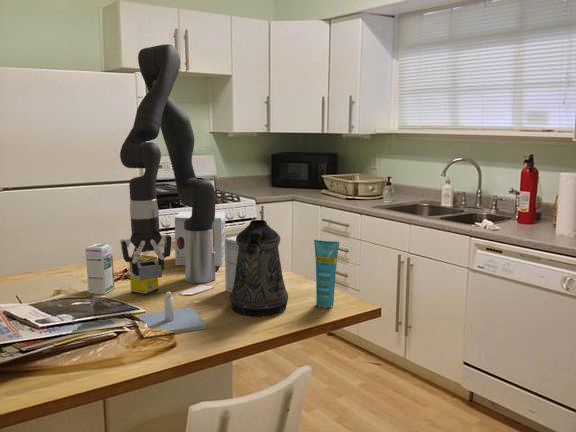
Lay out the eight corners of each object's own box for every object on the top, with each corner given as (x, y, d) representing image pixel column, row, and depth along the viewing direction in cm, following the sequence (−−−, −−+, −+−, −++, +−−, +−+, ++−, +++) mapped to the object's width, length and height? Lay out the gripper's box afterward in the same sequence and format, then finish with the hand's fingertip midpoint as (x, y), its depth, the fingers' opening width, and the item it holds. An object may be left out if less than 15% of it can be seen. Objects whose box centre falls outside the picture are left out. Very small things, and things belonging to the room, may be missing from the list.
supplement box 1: (158, 290, 168) (157, 256, 166) (146, 296, 163) (144, 261, 161) (143, 288, 171) (142, 254, 169) (130, 293, 165) (128, 258, 163)
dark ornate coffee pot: (276, 295, 165) (277, 214, 160) (300, 317, 147) (301, 226, 142) (223, 301, 159) (222, 217, 155) (241, 324, 141) (240, 230, 137)
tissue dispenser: (156, 271, 157) (156, 259, 156) (162, 277, 151) (161, 265, 151) (135, 274, 154) (134, 262, 153) (139, 280, 149) (138, 268, 148)
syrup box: (105, 294, 164) (102, 248, 161) (87, 293, 165) (84, 247, 162) (115, 289, 169) (112, 243, 167) (97, 287, 170) (95, 242, 168)
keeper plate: (192, 310, 151) (191, 281, 149) (207, 328, 138) (206, 296, 137) (133, 319, 144) (132, 288, 143) (143, 338, 132) (141, 305, 130)
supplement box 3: (267, 290, 169) (267, 238, 166) (245, 297, 163) (245, 242, 160) (246, 284, 176) (246, 233, 173) (224, 290, 169) (223, 237, 166)
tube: (310, 306, 155) (311, 241, 152) (314, 301, 160) (316, 237, 156) (336, 309, 153) (337, 243, 149) (339, 304, 157) (341, 239, 154)
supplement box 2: (174, 266, 196) (173, 217, 193) (181, 257, 209) (180, 210, 206) (222, 266, 196) (221, 217, 193) (226, 257, 209) (225, 211, 206)
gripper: (167, 210, 156) (170, 266, 159) (115, 215, 149) (119, 273, 153) (173, 214, 149) (177, 273, 152) (120, 220, 143) (124, 281, 146)
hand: (148, 273), depth 153 cm, fingers closed on tissue dispenser, 6 cm apart
